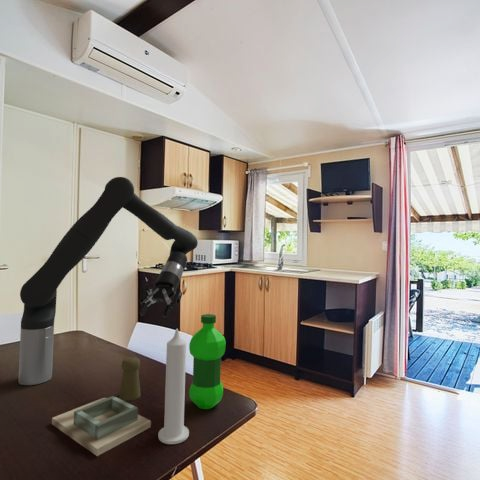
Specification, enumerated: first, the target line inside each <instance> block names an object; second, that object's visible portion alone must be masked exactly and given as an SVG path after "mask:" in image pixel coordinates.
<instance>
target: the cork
mask: <svg viewBox="0 0 480 480" xmlns="http://www.w3.org/2000/svg"><path fill="white" fill-rule="evenodd" d="M140 368H141V360H140V358H138V357H135V356H129V357H126V358H124V359H123V360H122V362H121V369H122V370H123V372H122V379H121V384H120V390H119V396H118V398H119V399H121V400H123V401H125V402H128V401H134V400H137V399H138V398H141V395H142V394H141V385H140V384H141V383H140V377H139V376H140V375H139V369H140Z"/></svg>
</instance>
